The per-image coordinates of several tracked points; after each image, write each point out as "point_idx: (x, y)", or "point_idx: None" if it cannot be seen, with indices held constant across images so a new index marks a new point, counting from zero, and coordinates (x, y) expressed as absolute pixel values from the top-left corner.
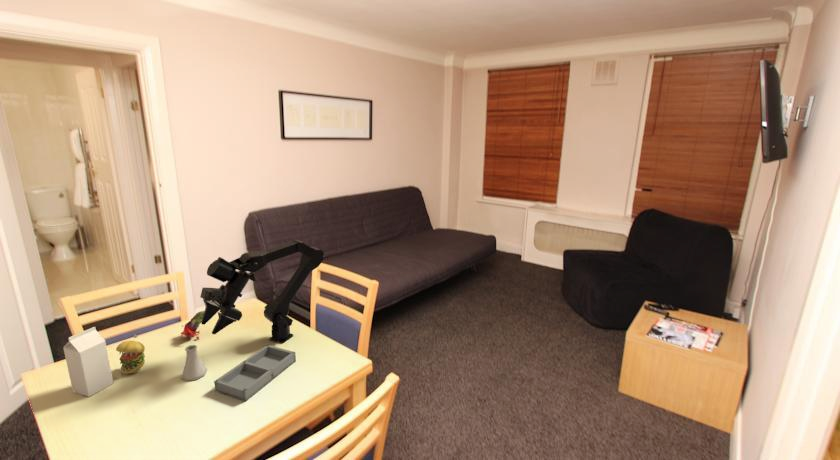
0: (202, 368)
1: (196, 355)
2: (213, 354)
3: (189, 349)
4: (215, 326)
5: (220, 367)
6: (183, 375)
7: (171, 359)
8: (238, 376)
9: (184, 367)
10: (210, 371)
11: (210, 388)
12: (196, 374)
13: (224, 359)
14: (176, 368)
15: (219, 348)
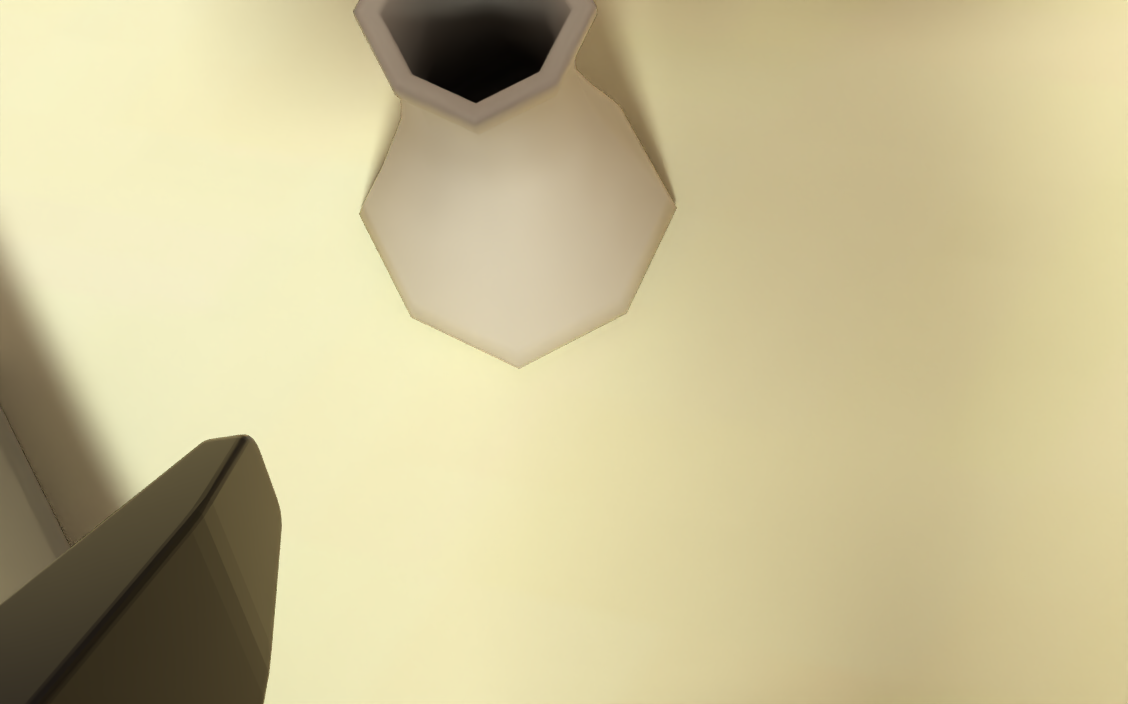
0: (435, 285)
1: (447, 161)
2: (911, 529)
3: (559, 25)
4: (37, 608)
5: (488, 534)
6: (486, 69)
7: (1085, 30)
8: None
9: (501, 47)
10: (468, 398)
11: (76, 320)
12: (371, 200)
13: (672, 633)
14: (807, 52)
15: (1048, 646)
